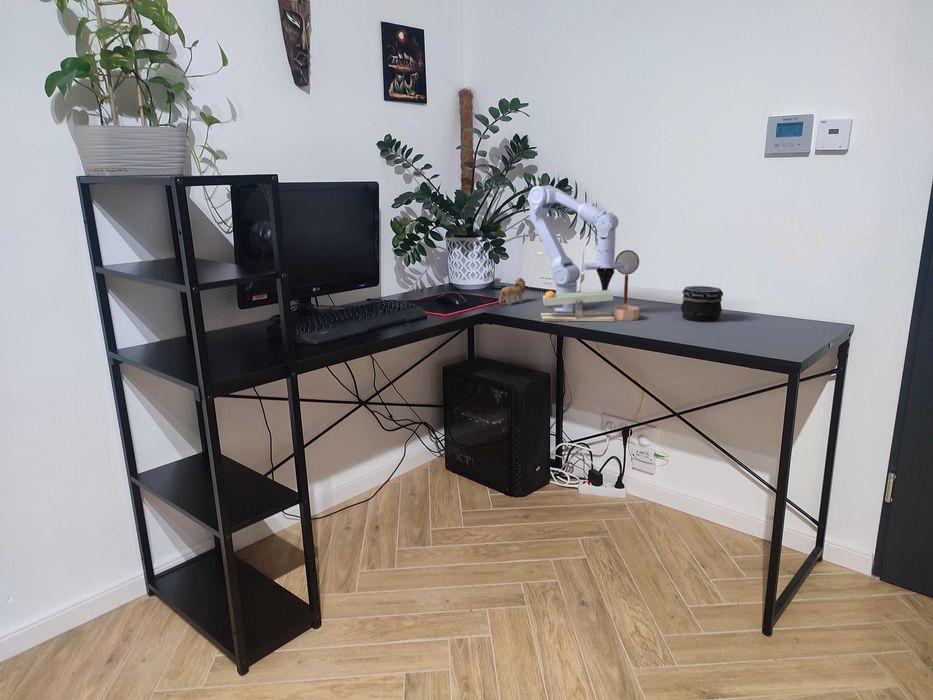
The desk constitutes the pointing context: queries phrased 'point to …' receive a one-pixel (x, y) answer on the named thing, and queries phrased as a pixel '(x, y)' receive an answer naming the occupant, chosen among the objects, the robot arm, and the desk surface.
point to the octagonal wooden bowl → (626, 312)
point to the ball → (550, 294)
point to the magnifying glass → (633, 264)
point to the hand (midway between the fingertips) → (604, 290)
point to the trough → (577, 298)
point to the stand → (577, 315)
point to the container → (701, 303)
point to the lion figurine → (513, 291)
